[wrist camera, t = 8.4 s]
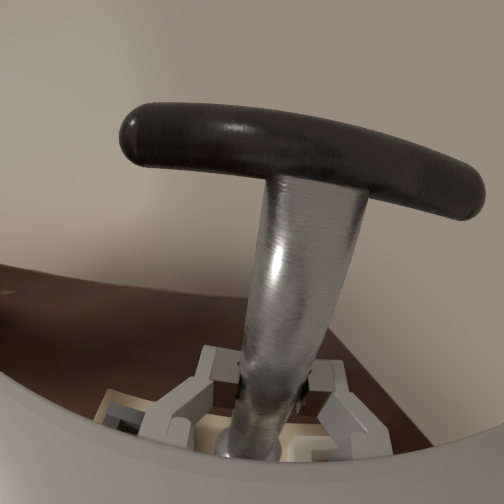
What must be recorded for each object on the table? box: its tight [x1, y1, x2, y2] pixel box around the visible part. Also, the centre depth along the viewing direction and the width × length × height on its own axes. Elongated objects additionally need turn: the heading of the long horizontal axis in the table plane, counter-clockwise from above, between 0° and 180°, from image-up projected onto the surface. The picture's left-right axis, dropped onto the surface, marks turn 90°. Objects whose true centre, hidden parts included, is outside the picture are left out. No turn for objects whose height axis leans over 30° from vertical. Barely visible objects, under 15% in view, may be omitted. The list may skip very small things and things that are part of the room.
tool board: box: [93, 388, 330, 462], centre depth 18 cm, size 30×14×4 cm, turn 86°
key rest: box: [287, 436, 338, 462], centre depth 18 cm, size 8×8×3 cm
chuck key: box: [119, 102, 486, 462], centre depth 10 cm, size 10×4×18 cm, turn 85°
